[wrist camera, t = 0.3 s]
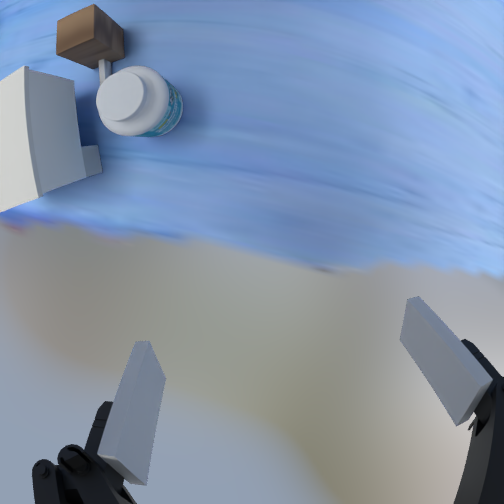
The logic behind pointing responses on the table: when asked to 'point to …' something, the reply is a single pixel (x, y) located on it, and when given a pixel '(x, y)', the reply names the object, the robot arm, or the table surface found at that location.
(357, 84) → the table surface
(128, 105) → the pill bottle
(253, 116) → the table surface
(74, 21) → the wood grain block
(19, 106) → the cabinet
